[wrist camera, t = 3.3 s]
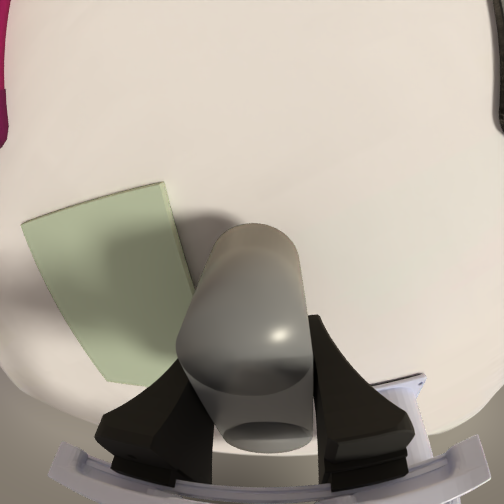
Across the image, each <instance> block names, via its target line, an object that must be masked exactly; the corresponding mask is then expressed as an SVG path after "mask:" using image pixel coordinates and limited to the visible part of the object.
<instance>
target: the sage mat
mask: <svg viewBox="0 0 504 504" xmlns="http://www.w3.org/2000/svg"><path fill="white" fill-rule="evenodd" d="M21 227H22V230H23V233H24V236H25V238H26V241H27V243H28V246H29V248H30V251H31V253H32V255H33V258H34V260H35V262H36V265H37V267H38V269H39V271H40V273H41V275H42V277H43V279H44V282H45V284H46V286H47V288H48V290H49V291H50V293H51V295H52V297H53V299H54V301H55V303H56V305H57V306H58V308H59V310H60V312H61V314H62V315H63V317H64V319H65V320H66V322H67V324H68V325H69V327H70V329H71V330H72V332H73V334H74V335H75V337H76V338H77V340H78V341H79V343H80V344H81V346H82V347H83V349H84V350H85V352H86V353H87V355H88V356H89V358H90V359H91V361H92V362H93V363H94V365H95V366H96V367H97V369H98V370H99V372H100V373H101V374H102V376H103V377H104V378H105V379H106V381H108V382H115V383H121V384H129V385H137V386H145V387H149V386H150V385H152V384H153V383H154V382H155V381H156V380H157V379H158V378H160V377H161V376H162V375H163V374H164V373H165V372H166V371H167V370H168V369H169V367H170V366H171V365H172V364H173V363H174V362H175V361H176V360H177V358H178V357H177V353H176V338H177V336H178V333H179V331H180V328H181V325H182V323H183V320H184V318H185V315H186V313H187V310H188V308H189V305H190V303H191V300H192V298H193V295H194V293H195V289H194V285H193V282H192V279H191V276H190V273H189V270H188V266H187V263H186V260H185V256H184V253H183V250H182V246H181V243H180V239H179V236H178V232H177V229H176V225H175V222H174V218H173V214H172V211H171V207H170V203H169V199H168V195H167V191H166V188H165V184H164V182H159V183H155V184H151V185H146V186H142V187H138V188H134V189H130V190H126V191H122V192H119V193H115V194H111V195H107V196H104V197H100V198H97V199H93V200H90V201H87V202H83V203H80V204H77V205H73V206H70V207H67V208H64V209H61V210H58V211H55V212H52V213H49V214H46V215H43V216H40V217H38V218H35V219H32V220H29V221H27V222H25V223H23V224H22V225H21Z"/></svg>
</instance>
